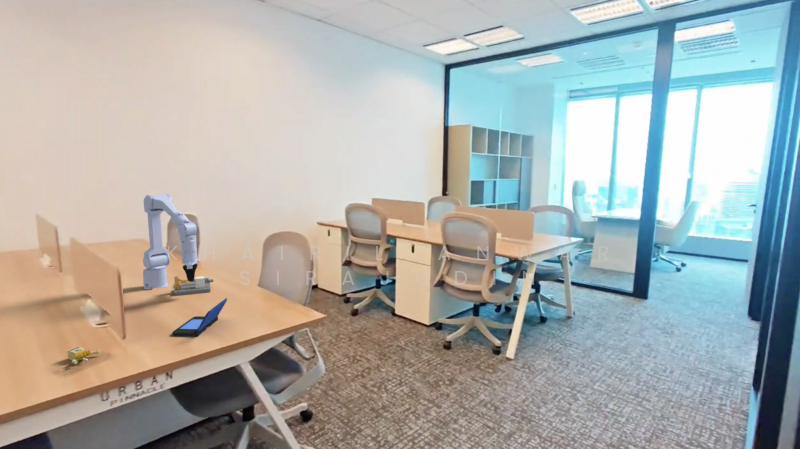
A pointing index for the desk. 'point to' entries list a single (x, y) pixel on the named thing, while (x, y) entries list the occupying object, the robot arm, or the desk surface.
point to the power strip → (191, 290)
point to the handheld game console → (199, 322)
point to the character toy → (80, 354)
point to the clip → (178, 282)
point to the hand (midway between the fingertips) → (190, 281)
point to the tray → (194, 282)
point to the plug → (202, 282)
